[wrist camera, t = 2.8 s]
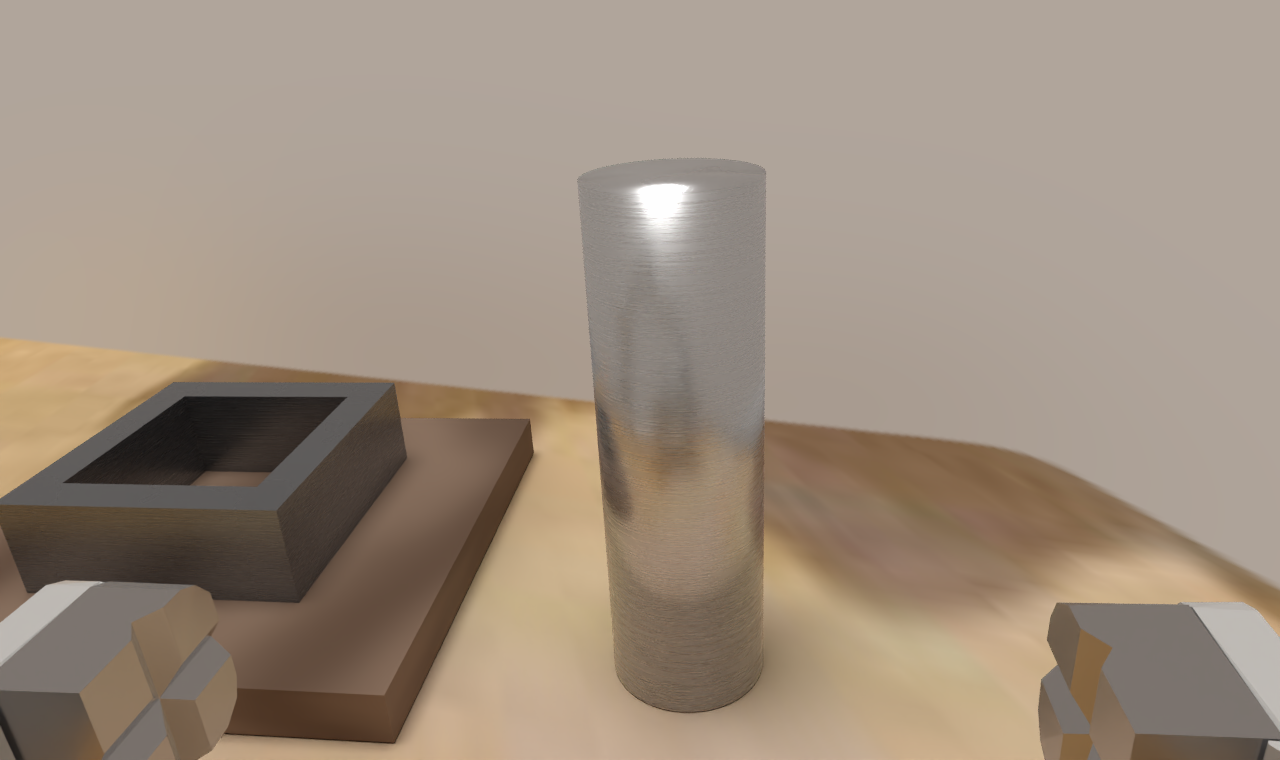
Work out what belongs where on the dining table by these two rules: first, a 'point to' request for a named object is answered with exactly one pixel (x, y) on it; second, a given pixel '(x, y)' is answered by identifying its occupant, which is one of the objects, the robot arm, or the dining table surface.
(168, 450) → the socket collar
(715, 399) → the steel pin
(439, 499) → the socket board
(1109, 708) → the robot arm
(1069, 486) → the dining table surface
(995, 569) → the dining table surface
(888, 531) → the dining table surface
